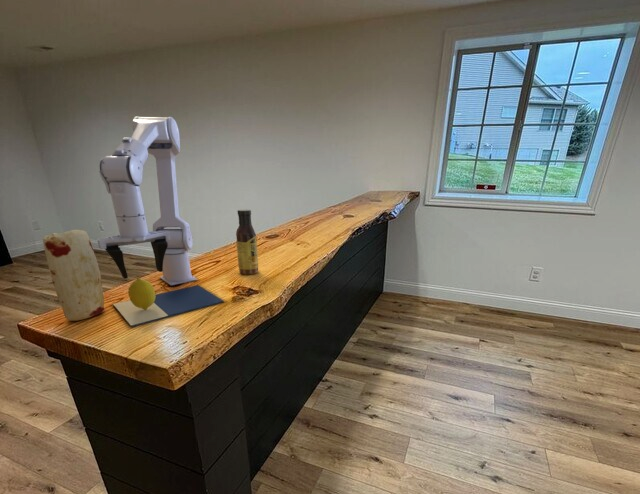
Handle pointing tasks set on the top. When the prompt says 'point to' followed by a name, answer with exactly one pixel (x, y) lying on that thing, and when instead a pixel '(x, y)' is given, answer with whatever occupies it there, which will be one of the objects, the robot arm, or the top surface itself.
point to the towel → (167, 305)
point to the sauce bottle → (246, 244)
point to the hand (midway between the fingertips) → (143, 274)
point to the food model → (75, 274)
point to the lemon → (142, 293)
